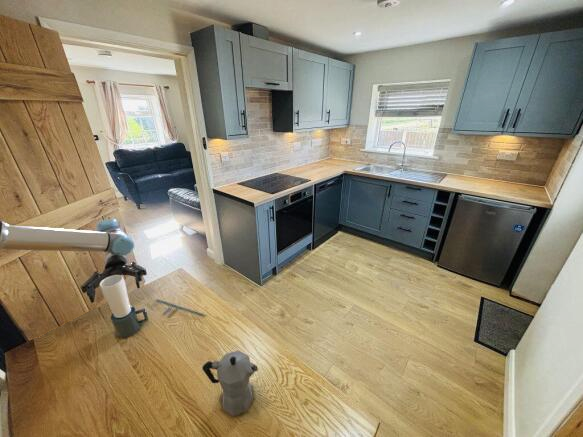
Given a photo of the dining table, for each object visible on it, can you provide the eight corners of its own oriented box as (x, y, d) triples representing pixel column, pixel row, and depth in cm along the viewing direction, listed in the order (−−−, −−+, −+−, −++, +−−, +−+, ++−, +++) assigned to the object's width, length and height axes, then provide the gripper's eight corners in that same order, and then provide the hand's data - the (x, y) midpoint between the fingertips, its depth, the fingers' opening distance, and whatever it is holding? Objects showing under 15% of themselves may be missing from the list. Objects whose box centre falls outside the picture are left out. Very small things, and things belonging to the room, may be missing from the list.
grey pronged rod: (195, 323, 93) (203, 314, 98) (146, 307, 100) (156, 299, 105) (195, 326, 93) (204, 317, 98) (147, 309, 101) (157, 302, 105)
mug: (117, 342, 87) (110, 324, 83) (117, 328, 92) (110, 310, 89) (150, 329, 92) (145, 312, 89) (148, 316, 98) (143, 299, 94)
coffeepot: (262, 384, 74) (260, 344, 67) (256, 420, 66) (253, 378, 58) (214, 380, 75) (207, 340, 68) (202, 415, 66) (192, 373, 59)
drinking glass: (137, 307, 91) (127, 275, 85) (124, 321, 84) (112, 287, 78) (121, 305, 91) (110, 273, 85) (107, 319, 85) (93, 286, 79)
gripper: (151, 261, 108) (157, 287, 92) (81, 280, 96) (73, 314, 79) (147, 247, 105) (152, 272, 89) (74, 264, 93) (65, 297, 76)
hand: (115, 292), depth 84 cm, fingers open, 13 cm apart
